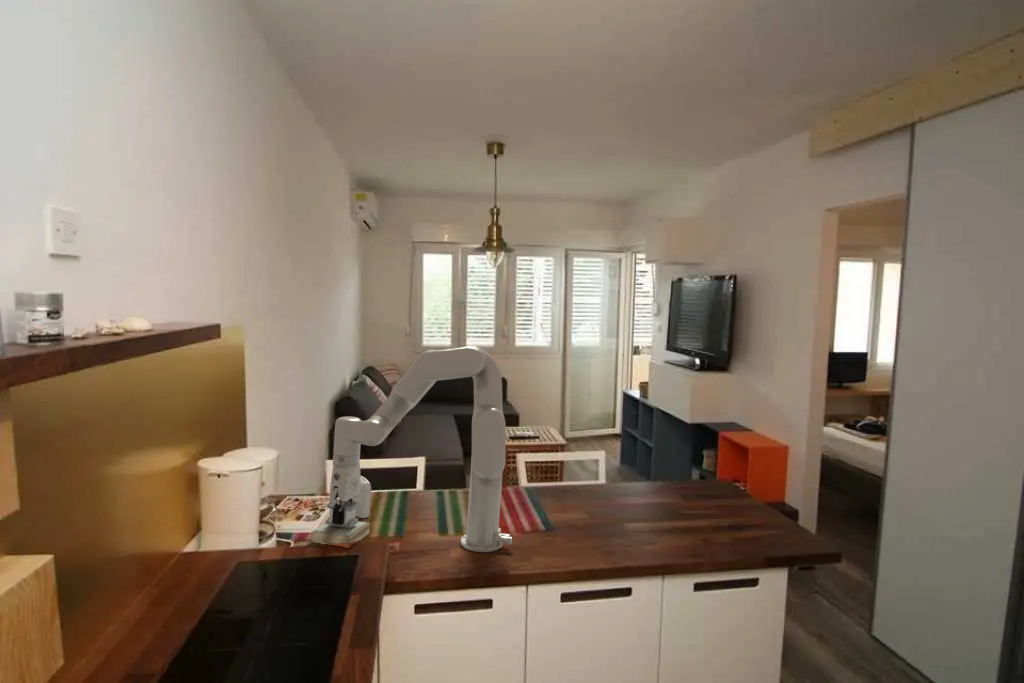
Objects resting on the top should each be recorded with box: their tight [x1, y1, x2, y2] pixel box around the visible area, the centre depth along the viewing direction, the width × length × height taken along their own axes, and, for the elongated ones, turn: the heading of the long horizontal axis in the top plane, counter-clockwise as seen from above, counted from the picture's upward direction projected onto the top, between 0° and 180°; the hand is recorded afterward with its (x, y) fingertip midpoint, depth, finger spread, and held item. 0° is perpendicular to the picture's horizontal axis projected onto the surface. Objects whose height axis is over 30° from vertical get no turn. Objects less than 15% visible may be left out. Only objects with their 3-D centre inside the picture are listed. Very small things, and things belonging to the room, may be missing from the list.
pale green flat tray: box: [310, 520, 371, 545], centre depth 156 cm, size 12×12×3 cm
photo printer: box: [355, 475, 372, 519], centre depth 176 cm, size 10×4×12 cm, turn 39°
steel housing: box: [325, 498, 360, 528], centre depth 156 cm, size 8×5×6 cm, turn 78°
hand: (342, 520), depth 156 cm, fingers closed on steel housing, 5 cm apart
